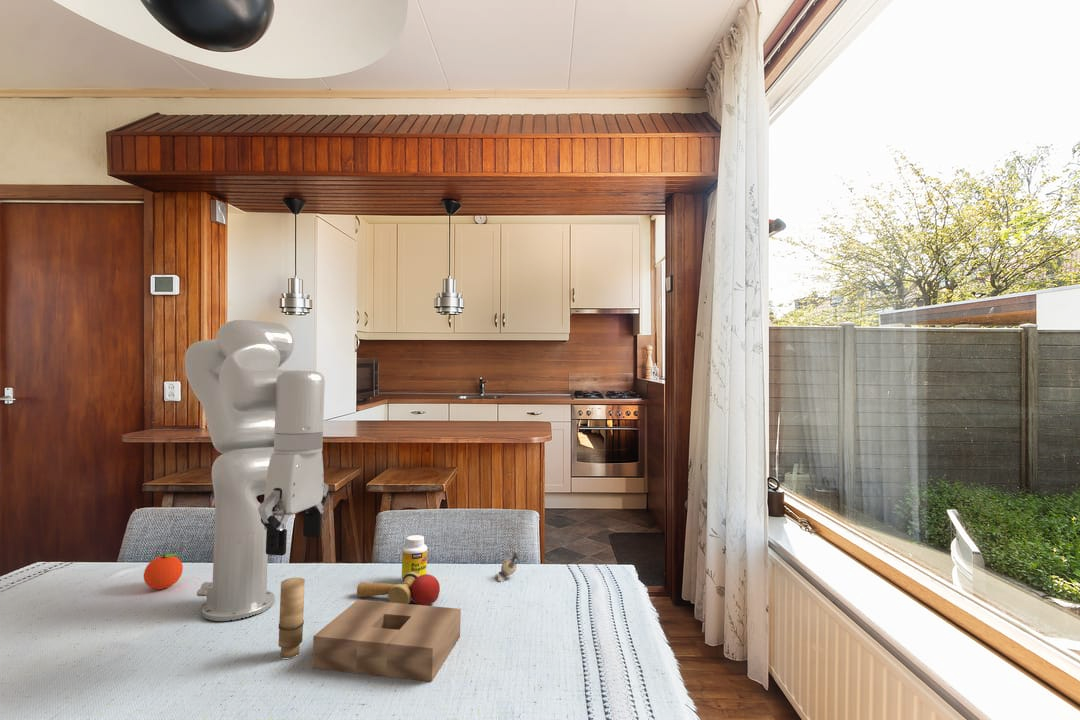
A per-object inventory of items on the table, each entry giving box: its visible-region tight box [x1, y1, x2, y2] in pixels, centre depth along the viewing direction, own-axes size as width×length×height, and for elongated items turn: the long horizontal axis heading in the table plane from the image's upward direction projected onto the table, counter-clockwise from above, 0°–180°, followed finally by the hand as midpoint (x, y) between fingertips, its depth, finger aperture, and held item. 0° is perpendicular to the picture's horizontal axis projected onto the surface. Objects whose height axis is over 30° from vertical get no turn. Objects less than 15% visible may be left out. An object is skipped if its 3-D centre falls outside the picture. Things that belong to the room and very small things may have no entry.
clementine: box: [143, 553, 185, 590], centre depth 112 cm, size 8×7×7 cm
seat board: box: [311, 599, 462, 682], centre depth 87 cm, size 20×14×5 cm
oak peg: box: [278, 577, 305, 659], centre depth 86 cm, size 4×4×12 cm
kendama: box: [356, 572, 441, 606], centre depth 107 cm, size 8×6×18 cm
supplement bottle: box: [400, 534, 428, 584], centre depth 117 cm, size 6×6×10 cm
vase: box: [497, 551, 523, 582], centre depth 121 cm, size 5×5×6 cm
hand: (295, 545), depth 86 cm, fingers open, 9 cm apart
